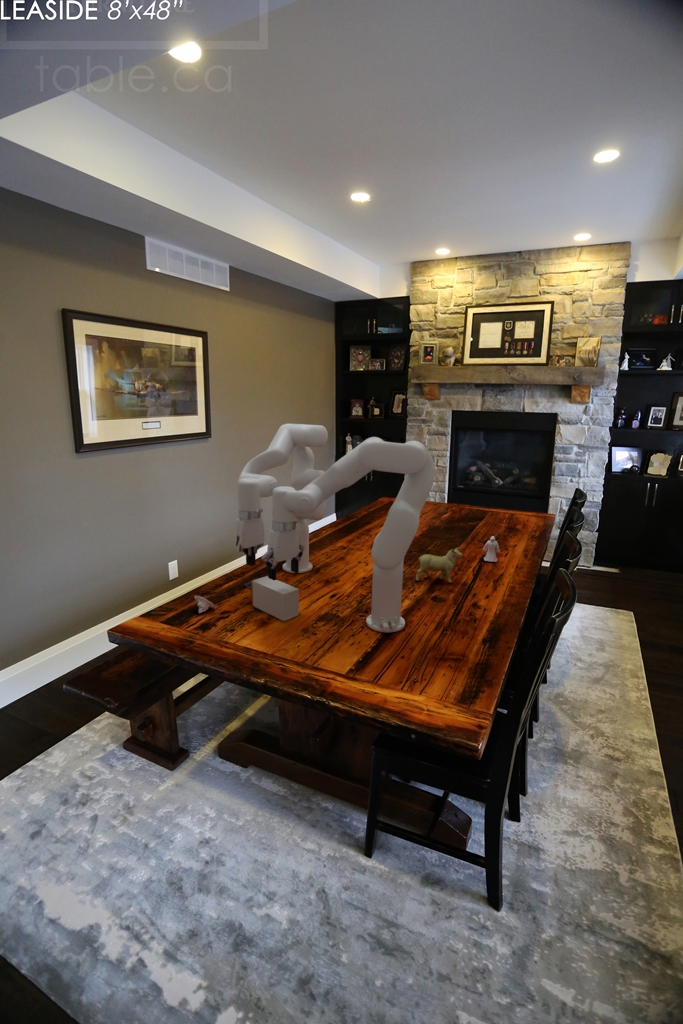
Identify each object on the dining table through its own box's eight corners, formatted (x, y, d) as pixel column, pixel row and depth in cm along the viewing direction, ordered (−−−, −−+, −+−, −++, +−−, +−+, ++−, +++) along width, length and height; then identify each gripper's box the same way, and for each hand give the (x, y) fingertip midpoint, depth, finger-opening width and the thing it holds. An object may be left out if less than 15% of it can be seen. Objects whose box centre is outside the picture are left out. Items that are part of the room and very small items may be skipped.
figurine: (481, 562, 222) (483, 536, 219) (482, 556, 230) (484, 531, 227) (499, 564, 220) (501, 538, 217) (499, 558, 228) (501, 533, 225)
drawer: (241, 596, 179) (240, 577, 177) (253, 592, 183) (252, 573, 181) (279, 615, 165) (279, 594, 163) (291, 610, 169) (291, 589, 167)
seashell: (200, 621, 170) (185, 603, 169) (211, 610, 173) (196, 593, 173) (208, 616, 164) (192, 598, 163) (220, 606, 167) (204, 588, 166)
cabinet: (252, 606, 174) (252, 580, 172) (267, 600, 179) (267, 575, 176) (284, 621, 163) (283, 594, 161) (298, 615, 168) (298, 588, 166)
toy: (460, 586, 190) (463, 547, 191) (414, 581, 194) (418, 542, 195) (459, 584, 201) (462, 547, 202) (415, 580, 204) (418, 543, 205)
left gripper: (260, 508, 180) (261, 557, 184) (224, 516, 169) (226, 567, 173) (273, 512, 175) (274, 562, 179) (238, 520, 164) (239, 572, 168)
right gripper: (296, 518, 169) (295, 566, 173) (255, 527, 156) (255, 578, 160) (311, 523, 164) (310, 572, 168) (270, 532, 151) (270, 585, 155)
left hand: (250, 564), depth 176 cm, fingers closed
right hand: (283, 575), depth 164 cm, fingers open, 9 cm apart
